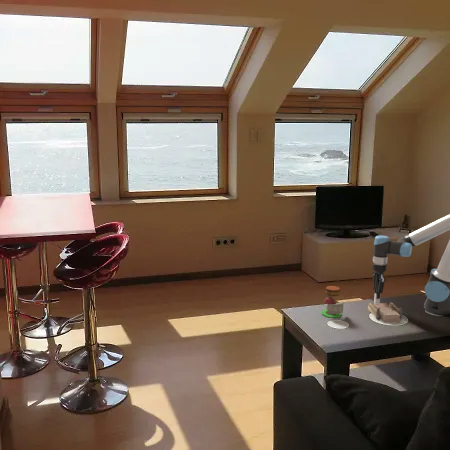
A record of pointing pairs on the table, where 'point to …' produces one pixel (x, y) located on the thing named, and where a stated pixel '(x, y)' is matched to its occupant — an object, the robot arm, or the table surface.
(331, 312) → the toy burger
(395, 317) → the brick
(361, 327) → the table surface
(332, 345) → the table surface
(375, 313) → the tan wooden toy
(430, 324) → the table surface
